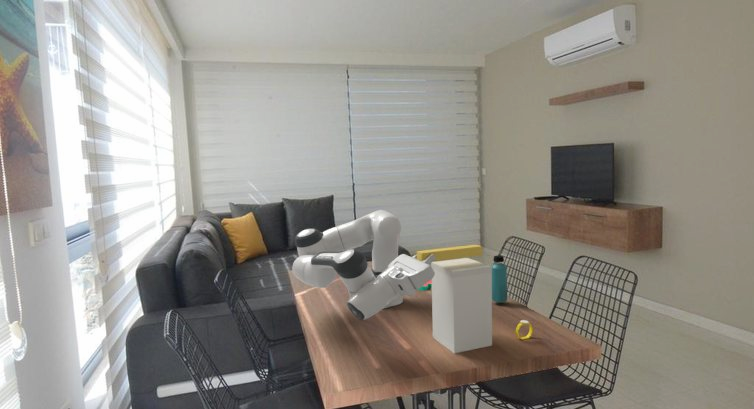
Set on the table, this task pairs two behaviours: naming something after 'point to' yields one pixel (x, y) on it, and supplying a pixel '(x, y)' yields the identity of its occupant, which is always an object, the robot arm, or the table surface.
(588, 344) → the table surface
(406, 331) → the table surface
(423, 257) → the mustard bar
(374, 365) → the table surface
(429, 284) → the pink curvy flat shape
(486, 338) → the off-white stand
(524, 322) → the gold ring
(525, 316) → the table surface
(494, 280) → the beverage bottle
